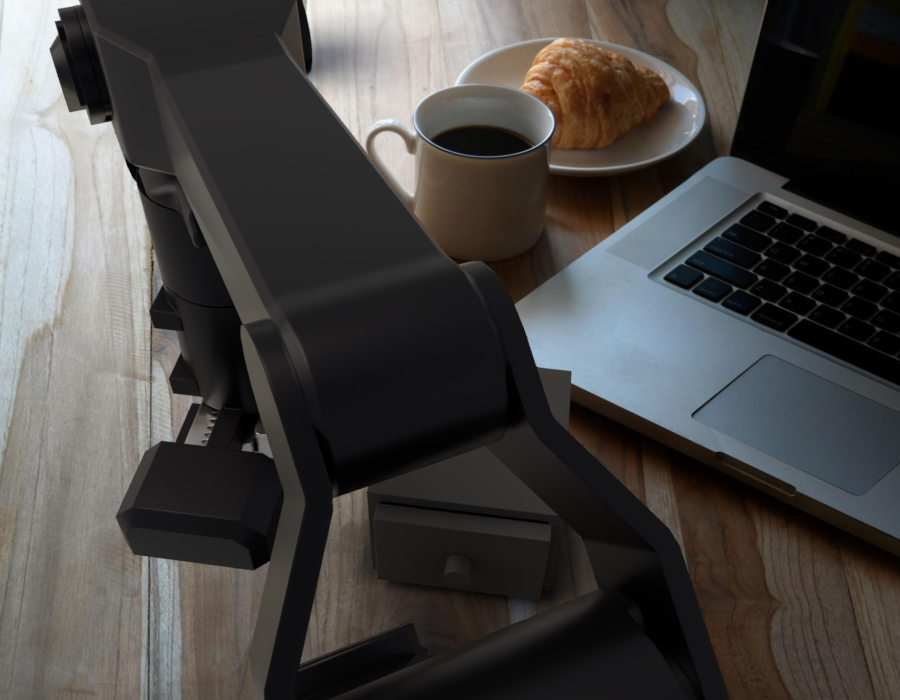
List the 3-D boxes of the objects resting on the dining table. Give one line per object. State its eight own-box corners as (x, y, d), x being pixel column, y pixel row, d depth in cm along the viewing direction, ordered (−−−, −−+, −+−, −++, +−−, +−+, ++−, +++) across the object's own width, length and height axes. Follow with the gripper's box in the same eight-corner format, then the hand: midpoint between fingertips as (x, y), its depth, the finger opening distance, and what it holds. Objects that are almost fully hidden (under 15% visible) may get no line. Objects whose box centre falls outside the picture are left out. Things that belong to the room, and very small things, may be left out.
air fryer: (549, 591, 60) (563, 516, 54) (372, 568, 61) (366, 492, 55) (558, 450, 68) (571, 370, 62) (401, 431, 69) (399, 351, 63)
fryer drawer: (538, 617, 58) (549, 559, 53) (373, 595, 59) (369, 536, 54) (549, 467, 66) (559, 404, 61) (404, 449, 67) (402, 386, 62)
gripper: (382, 464, 31) (392, 670, 43) (453, 151, 44) (446, 373, 56) (65, 425, 32) (157, 637, 44) (225, 129, 45) (264, 352, 56)
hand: (273, 483), depth 50 cm, fingers closed
